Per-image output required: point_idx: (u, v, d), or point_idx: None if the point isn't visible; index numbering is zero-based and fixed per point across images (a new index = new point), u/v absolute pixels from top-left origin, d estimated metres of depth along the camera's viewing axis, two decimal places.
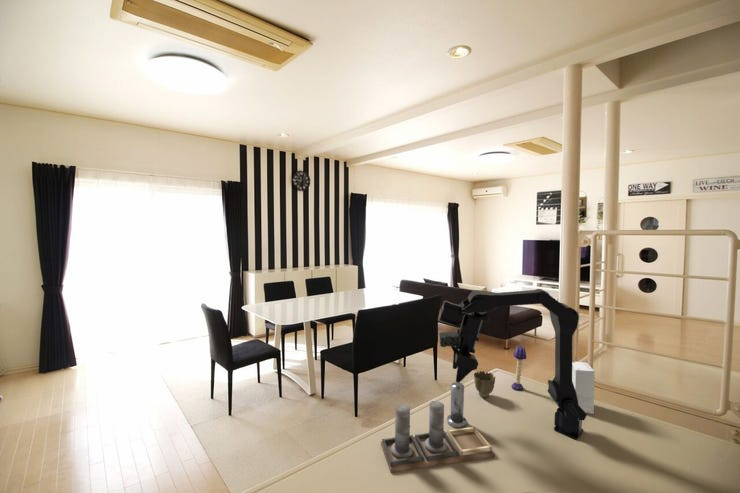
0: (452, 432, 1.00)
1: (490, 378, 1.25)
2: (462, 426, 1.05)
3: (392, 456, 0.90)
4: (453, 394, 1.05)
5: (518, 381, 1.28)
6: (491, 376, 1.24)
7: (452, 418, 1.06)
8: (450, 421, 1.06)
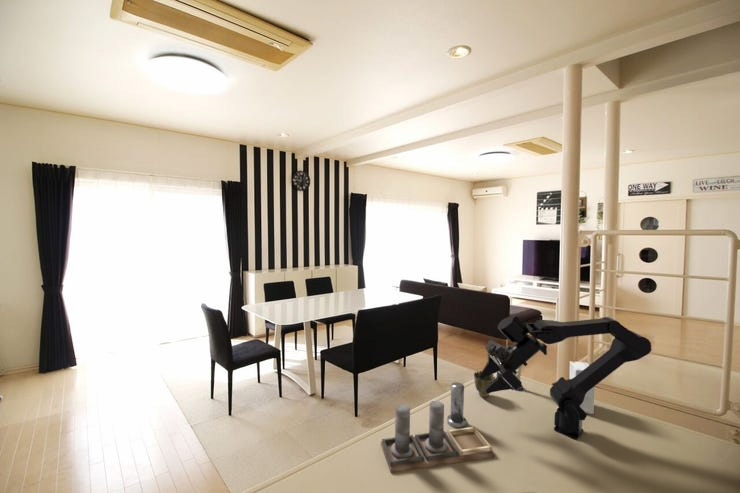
0: (452, 432, 1.00)
1: (490, 378, 1.25)
2: (462, 426, 1.05)
3: (392, 456, 0.90)
4: (453, 394, 1.05)
5: None
6: (491, 376, 1.24)
7: (452, 418, 1.06)
8: (450, 421, 1.06)
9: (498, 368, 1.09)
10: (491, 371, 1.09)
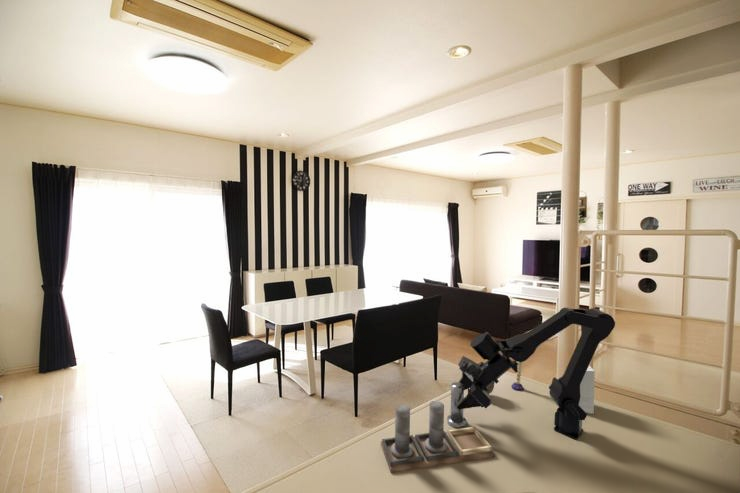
0: (452, 432, 1.00)
1: None
2: (462, 426, 1.05)
3: (392, 456, 0.90)
4: (453, 394, 1.05)
5: (518, 381, 1.28)
6: None
7: (452, 418, 1.06)
8: (450, 421, 1.06)
9: (471, 384, 1.11)
10: (465, 387, 1.11)
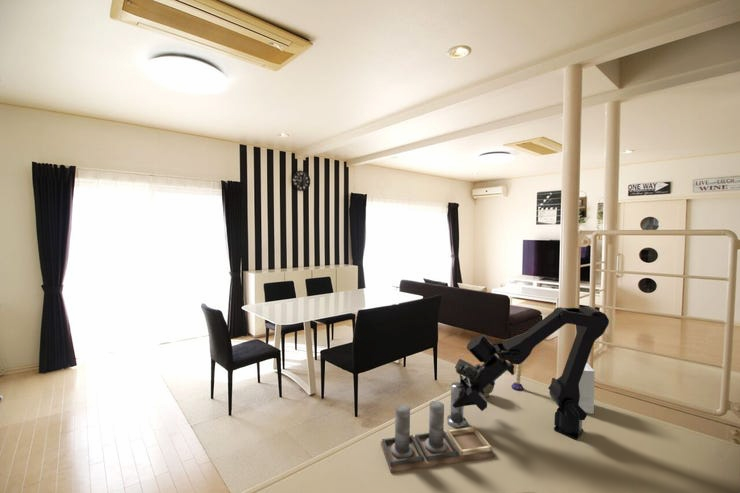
0: (452, 432, 1.00)
1: None
2: (462, 426, 1.05)
3: (392, 456, 0.90)
4: (453, 394, 1.05)
5: (518, 381, 1.28)
6: None
7: (452, 418, 1.06)
8: (450, 421, 1.06)
9: None
10: None
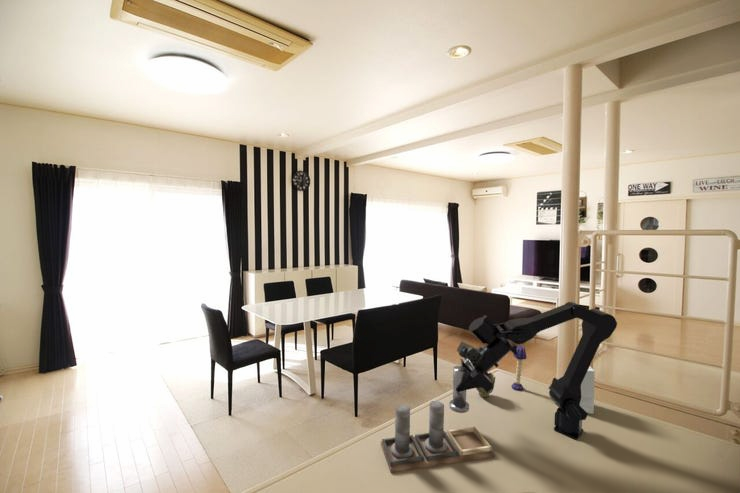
0: (452, 432, 1.00)
1: (490, 378, 1.25)
2: (465, 410, 1.01)
3: (392, 456, 0.90)
4: (456, 378, 1.02)
5: (518, 381, 1.28)
6: (491, 376, 1.24)
7: (455, 403, 1.03)
8: (453, 406, 1.03)
9: None
10: None
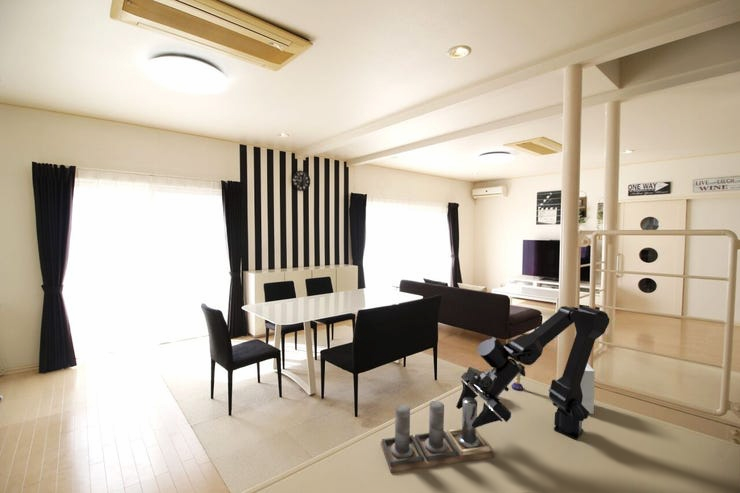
0: (452, 432, 1.00)
1: None
2: (477, 445, 0.94)
3: (392, 456, 0.90)
4: (467, 412, 0.94)
5: (518, 381, 1.28)
6: None
7: (466, 439, 0.95)
8: (464, 442, 0.95)
9: (474, 395, 1.01)
10: None
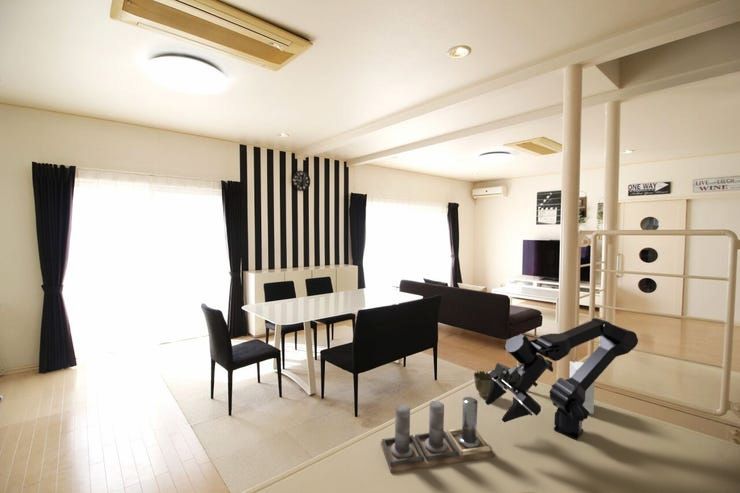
0: (452, 432, 1.00)
1: None
2: (478, 445, 0.94)
3: (392, 456, 0.90)
4: (467, 412, 0.94)
5: None
6: None
7: (466, 438, 0.95)
8: (464, 442, 0.95)
9: (503, 391, 1.03)
10: (496, 395, 1.03)
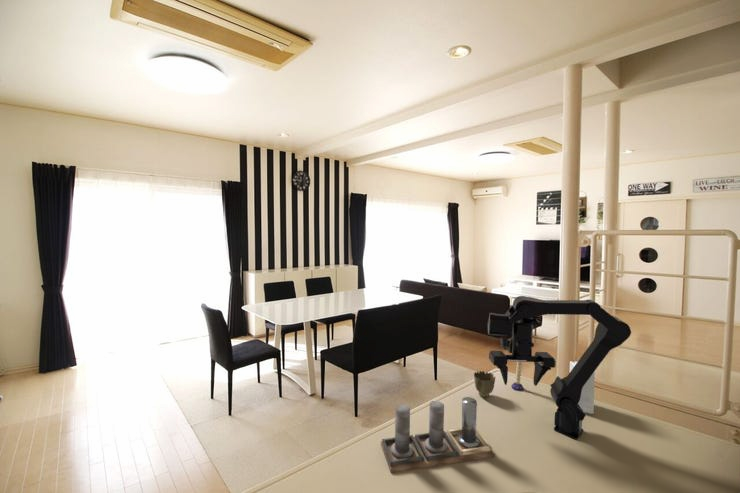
0: (452, 432, 1.00)
1: (490, 378, 1.25)
2: (478, 445, 0.94)
3: (392, 456, 0.90)
4: (466, 412, 0.94)
5: (518, 381, 1.28)
6: (491, 376, 1.24)
7: (466, 439, 0.95)
8: (464, 442, 0.95)
9: (540, 368, 1.03)
10: (537, 374, 1.04)
